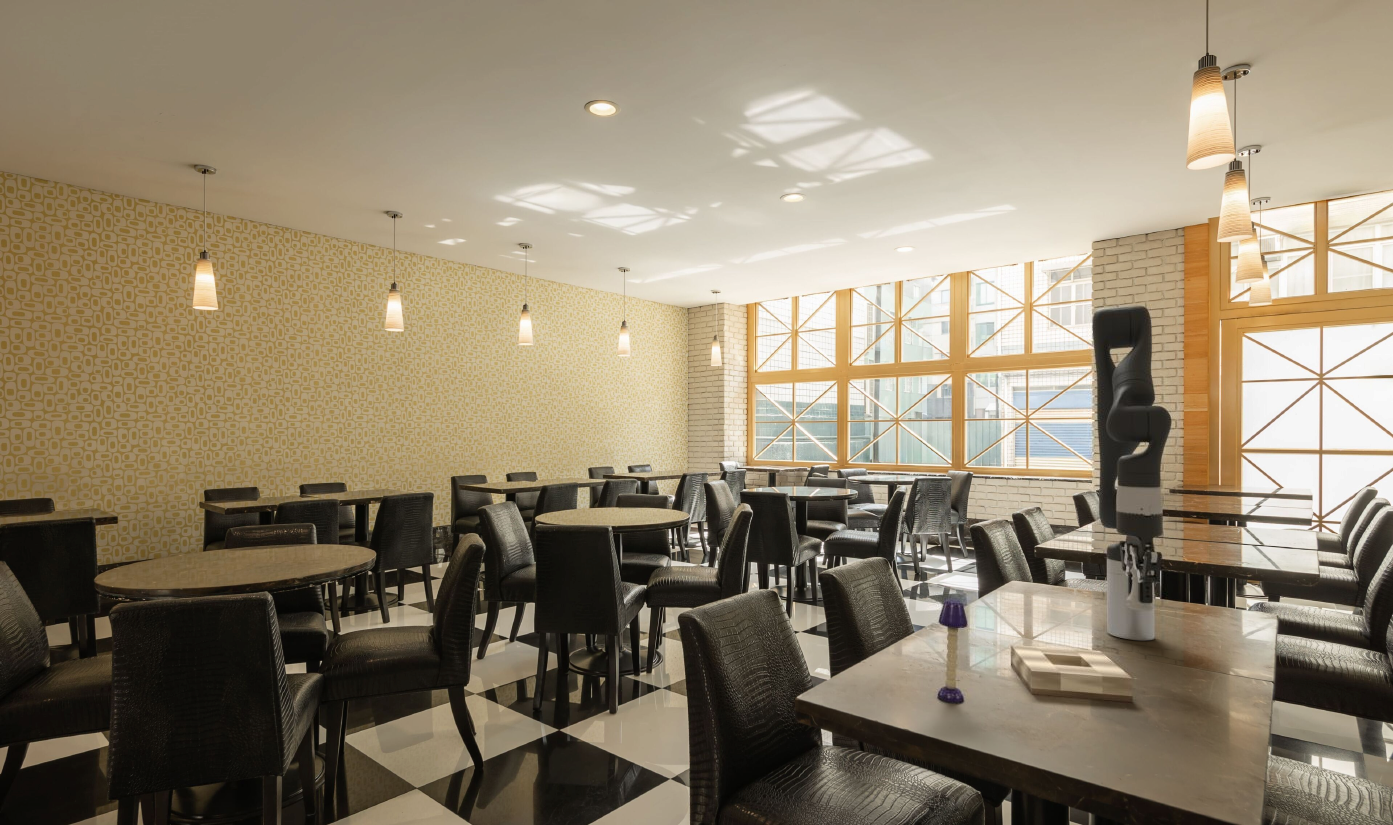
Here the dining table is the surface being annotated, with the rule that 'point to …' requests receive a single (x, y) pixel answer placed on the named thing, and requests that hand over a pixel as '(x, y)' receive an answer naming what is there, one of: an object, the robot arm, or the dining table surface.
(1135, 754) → the dining table surface
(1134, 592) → the rook chess piece
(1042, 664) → the socket block
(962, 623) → the toy lamp
